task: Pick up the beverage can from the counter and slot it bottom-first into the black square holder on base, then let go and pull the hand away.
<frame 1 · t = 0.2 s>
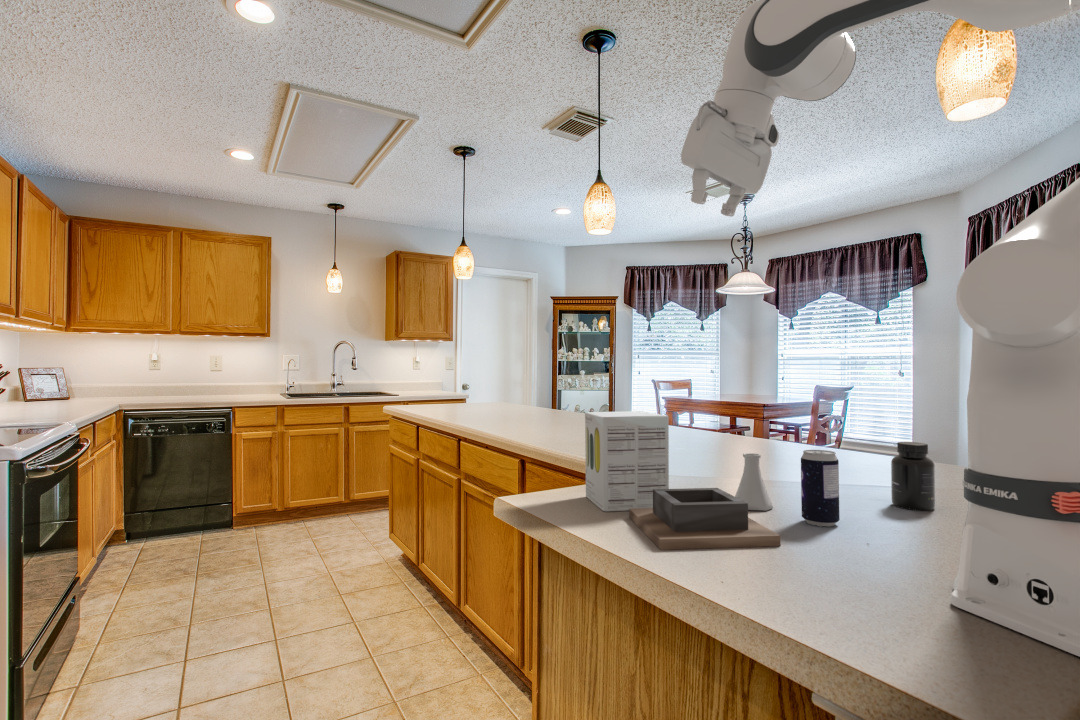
hand: (712, 209, 88), 51 cm above the worktop, tool tilted 20°, fingers open, 8 cm apart
supplement bottle: (913, 508, 104), on the worktop
square holder on base: (697, 530, 89), on the worktop
flask: (752, 508, 104), on the worktop
beverage can: (820, 524, 92), on the worktop
supplement box: (625, 503, 108), on the worktop
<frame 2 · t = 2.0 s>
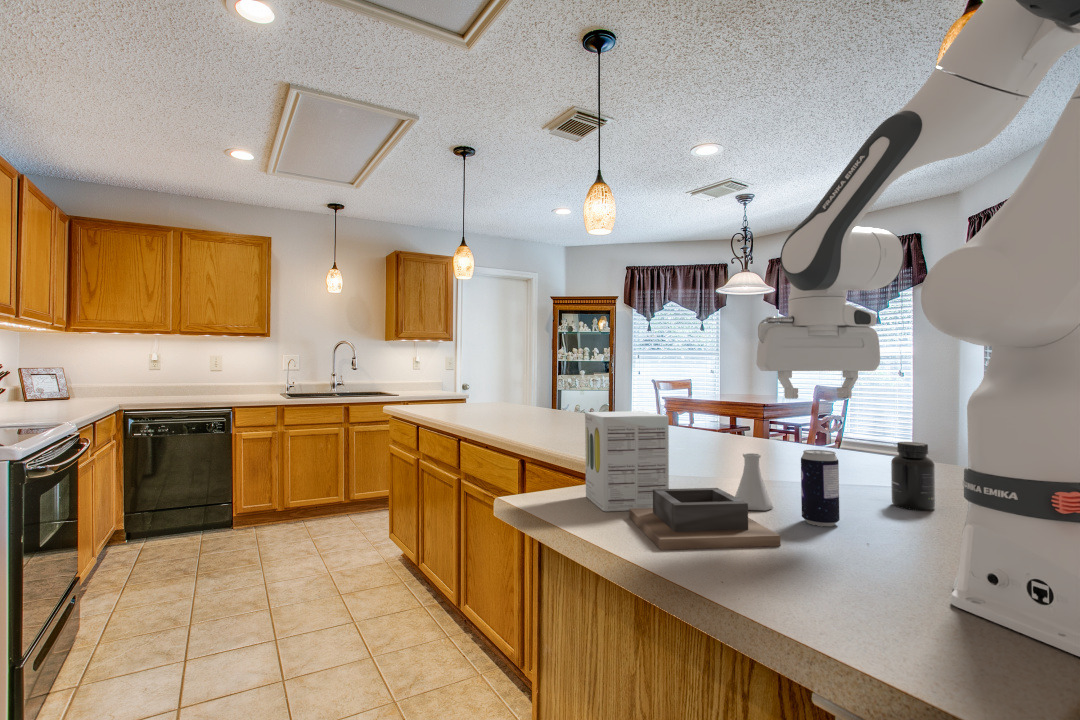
hand: (817, 398, 93), 21 cm above the worktop, tool pointing down, fingers open, 8 cm apart
nothing on the worktop moved.
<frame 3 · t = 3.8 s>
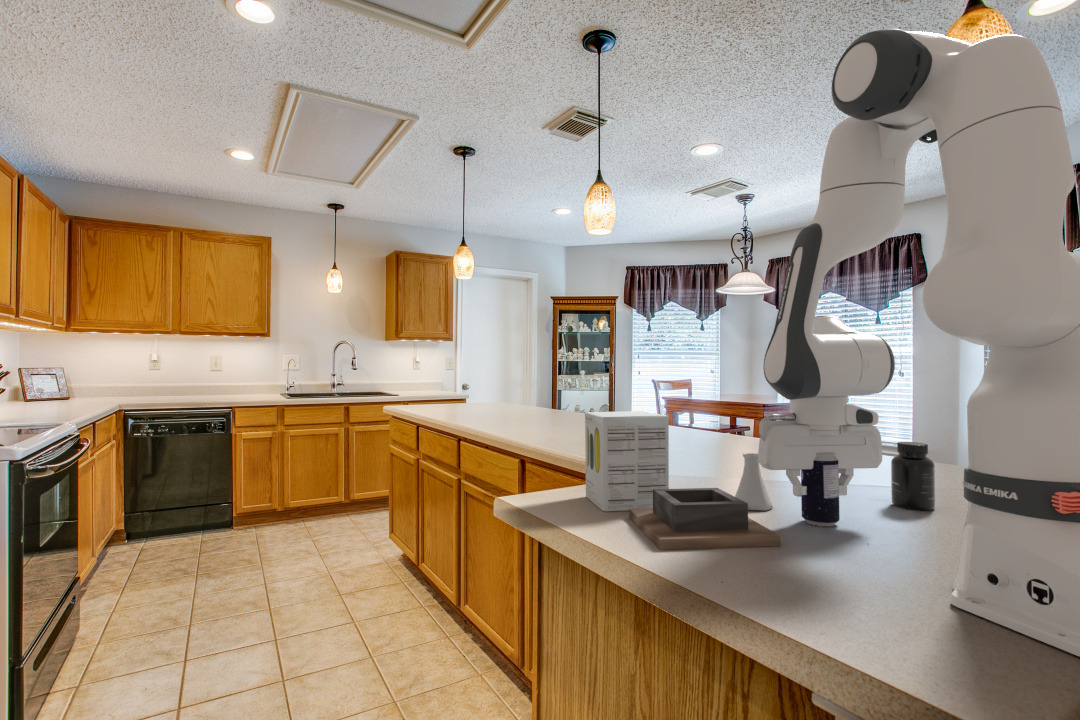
hand: (819, 495, 93), 5 cm above the worktop, tool pointing down, fingers closed on beverage can, 6 cm apart
beverage can: (820, 524, 92), on the worktop, touching gripper
everything else where it was.
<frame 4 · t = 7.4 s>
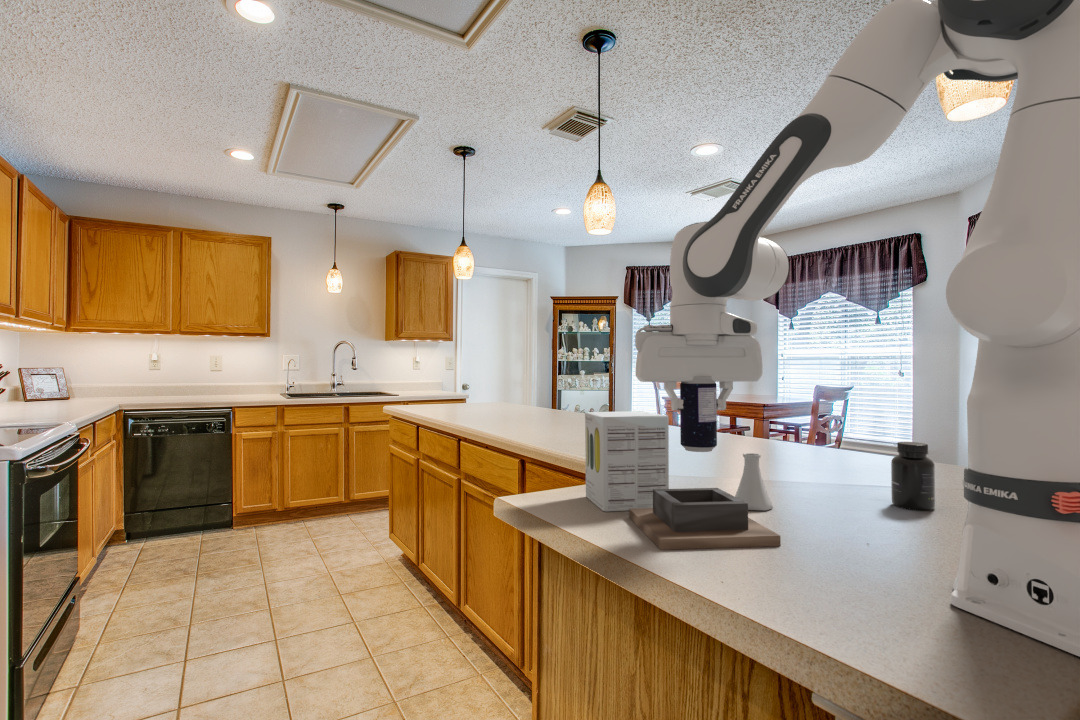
hand: (698, 410, 89), 19 cm above the worktop, tool pointing down, fingers closed on beverage can, 6 cm apart
beverage can: (698, 451, 89), point 13 cm above the worktop, touching gripper
everything else where it was.
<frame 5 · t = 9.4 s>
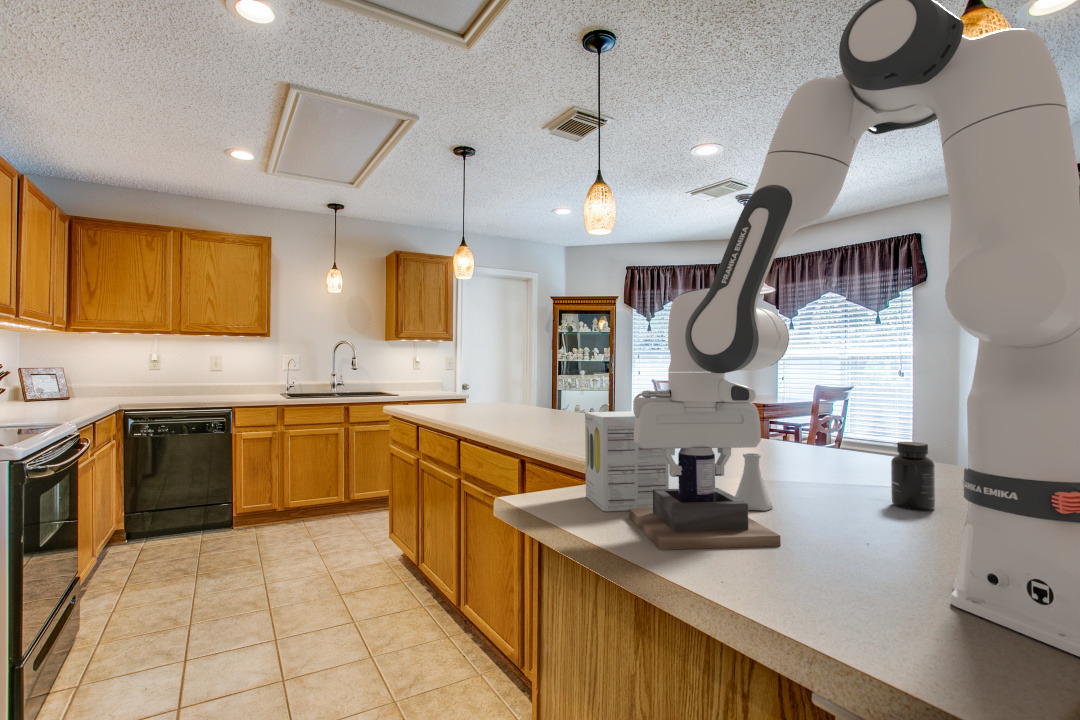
hand: (696, 475, 89), 9 cm above the worktop, tool pointing down, fingers closed on beverage can, 6 cm apart
beverage can: (697, 521, 89), point 1 cm above the worktop, touching gripper, square holder on base
everything else where it was.
when the fingers open (8 cm above the worktop, at t = 10.6 s): beverage can stays where it is, resting on square holder on base.
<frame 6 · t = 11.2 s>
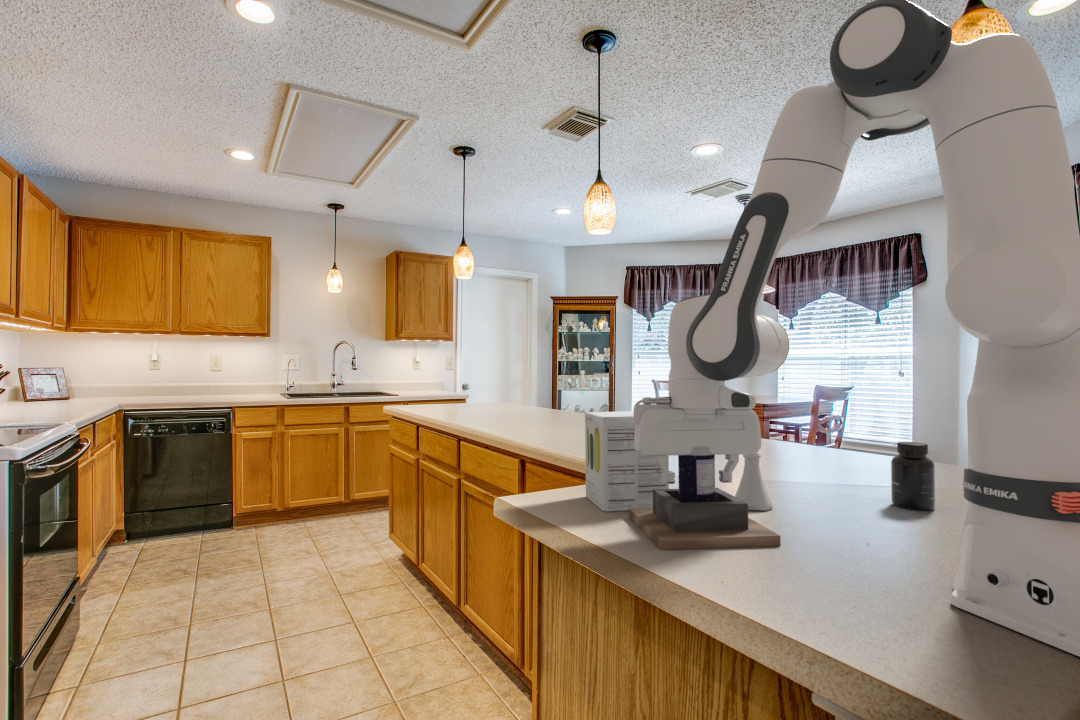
hand: (697, 482, 89), 8 cm above the worktop, tool pointing down, fingers open, 8 cm apart
beverage can: (697, 521, 89), point 1 cm above the worktop, touching square holder on base
everything else where it was.
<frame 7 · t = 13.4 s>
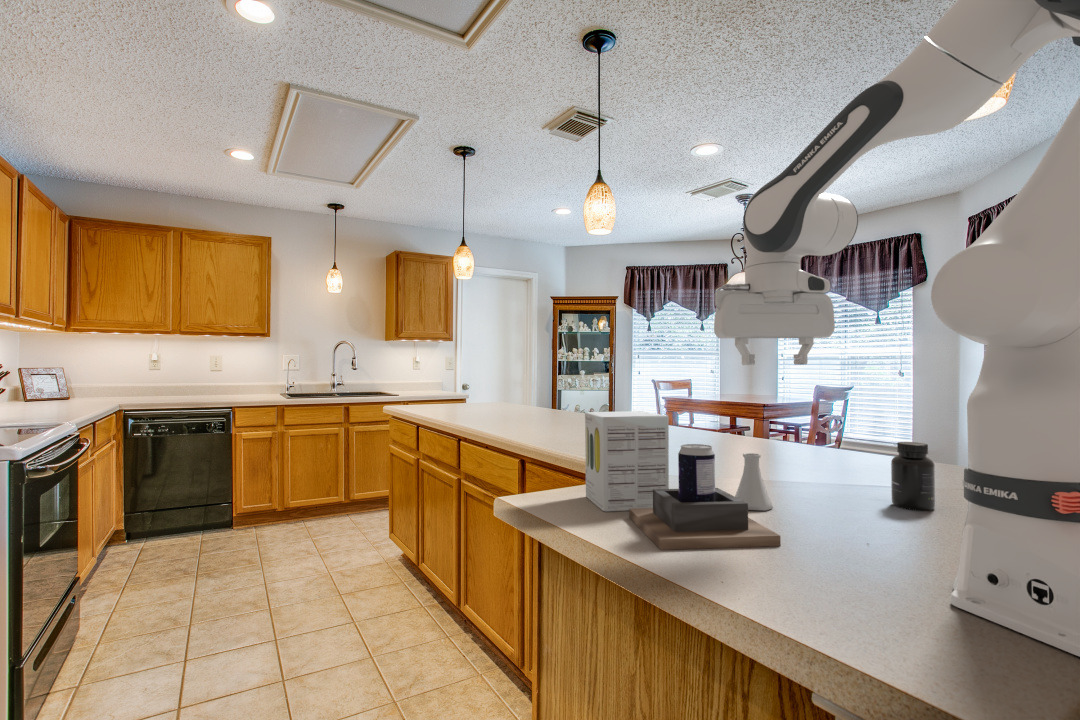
hand: (774, 364, 94), 27 cm above the worktop, tool pointing down, fingers open, 8 cm apart
nothing on the worktop moved.
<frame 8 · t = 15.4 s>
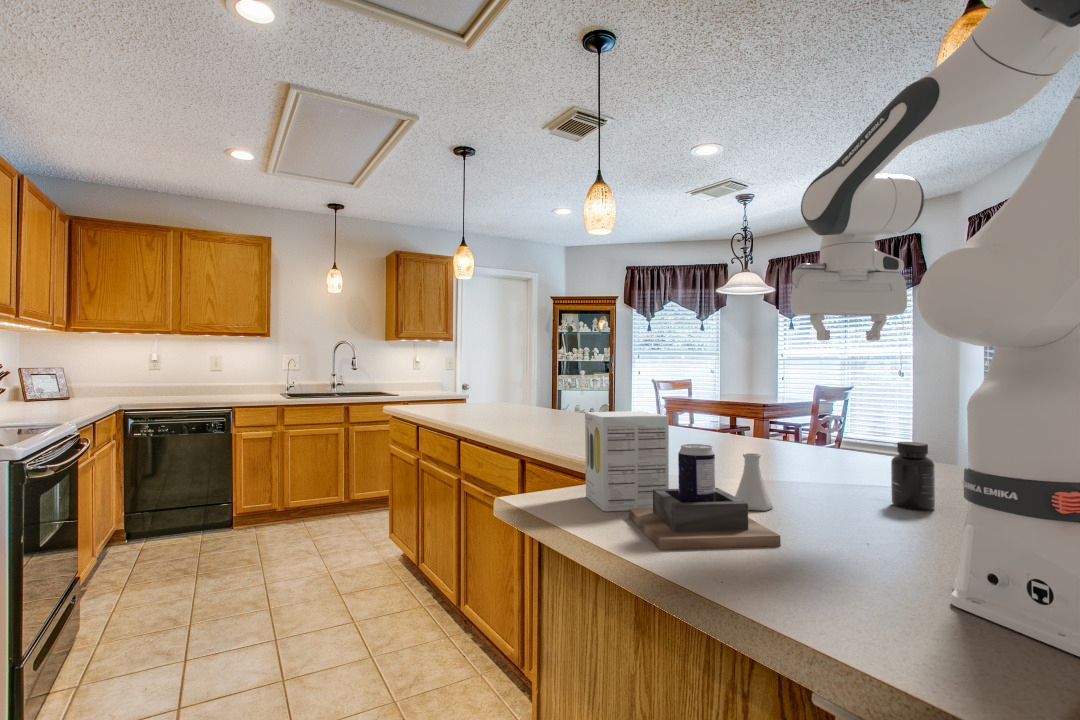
hand: (848, 340, 99), 31 cm above the worktop, tool pointing down, fingers open, 8 cm apart
nothing on the worktop moved.
at the end: beverage can 0.2 cm off-centre on the square holder on base, point 1.3 cm above the square holder on base's base; beverage can tilted 0°; the gripper is holding nothing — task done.
